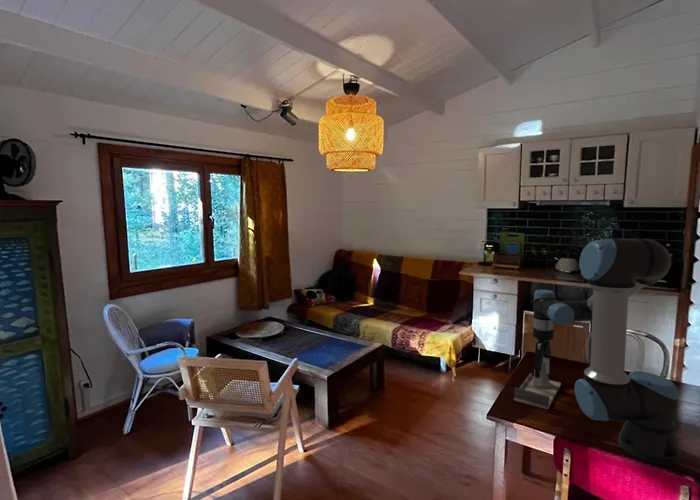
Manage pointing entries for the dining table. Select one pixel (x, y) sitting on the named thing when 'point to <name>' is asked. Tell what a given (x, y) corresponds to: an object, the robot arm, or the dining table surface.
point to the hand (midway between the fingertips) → (541, 378)
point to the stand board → (536, 393)
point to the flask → (544, 377)
